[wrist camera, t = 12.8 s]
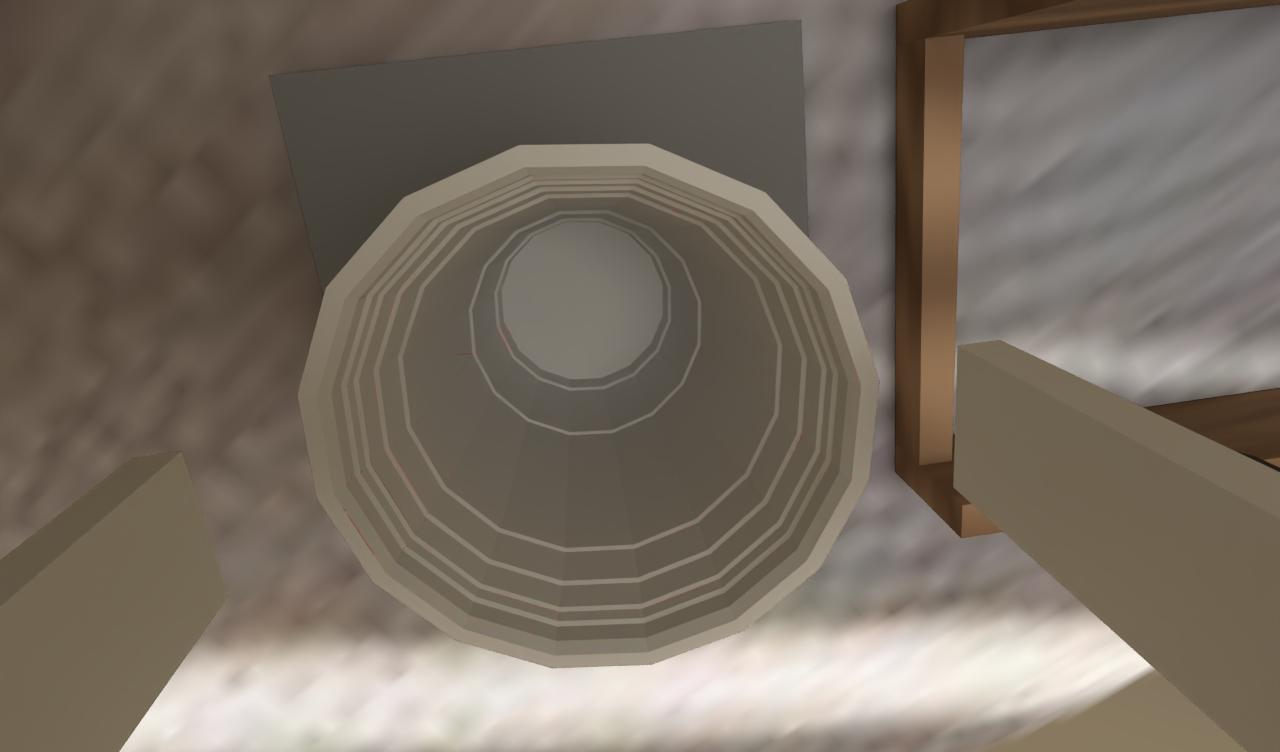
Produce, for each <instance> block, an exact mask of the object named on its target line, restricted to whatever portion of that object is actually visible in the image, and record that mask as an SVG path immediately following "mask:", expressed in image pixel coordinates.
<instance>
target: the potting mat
mask: <svg viewBox="0 0 1280 752" xmlns="http://www.w3.org/2000/svg"><path fill="white" fill-rule="evenodd" d="M269 79H270V83H271V87H272V91H273V95H274V99H275V103H276V107H277V111H278V115H279V119H280V123H281V127H282V131H283V136H284V140H285V144H286V148H287V152H288V156H289V160H290V164H291V168H292V172H293V176H294V180H295V184H296V188H297V192H298V197H299V201H300V205H301V209H302V213H303V217H304V221H305V225H306V229H307V233H308V237H309V241H310V245H311V249H312V253H313V258H314V262H315V266H316V270H317V274H318V278H319V282H320V286H321V290H322V294H323V297H324V293H325V290H326V287H327V286H328V285H329V284H330V282H331V281H332V280H333V279H334V278H335V277H336V275H337V274H338V273H339V272H340V271H341V270H342V268H343V267H344V266H345V265H346V264H347V263H348V262H349V260H350V259H351V258H352V257H353V256H354V255H355V253H356V252H357V251H358V250H359V249H360V248H361V246H362V245H363V244H364V243H365V242H366V241H367V239H368V238H369V237H370V236H371V235H372V234H373V232H374V231H375V230H376V229H377V228H378V227H379V226H380V224H381V223H382V222H383V221H384V220H385V219H386V217H387V216H388V215H389V214H390V213H391V212H392V210H393V209H394V208H395V207H396V206H397V205H398V203H399V202H400V201H401V200H402V199H403V198H404V197H406V196H408V195H410V194H412V193H415V192H417V191H419V190H421V189H423V188H426V187H428V186H430V185H432V184H434V183H437V182H439V181H441V180H443V179H445V178H448V177H450V176H452V175H454V174H456V173H459V172H461V171H463V170H465V169H467V168H470V167H472V166H474V165H476V164H478V163H481V162H483V161H485V160H487V159H489V158H492V157H494V156H496V155H498V154H500V153H503V152H505V151H507V150H509V149H512V148H514V147H516V146H518V145H565V144H652V145H654V146H656V147H659V148H661V149H663V150H666V151H668V152H671V153H673V154H675V155H678V156H680V157H682V158H685V159H687V160H690V161H692V162H694V163H697V164H699V165H701V166H704V167H706V168H709V169H711V170H713V171H716V172H718V173H720V174H723V175H725V176H728V177H730V178H732V179H735V180H737V181H739V182H742V183H744V184H747V185H749V186H751V187H754V188H756V189H758V190H761V191H763V192H766V194H767V195H768V196H769V197H770V198H771V199H772V200H773V201H774V202H775V203H776V204H777V205H778V206H779V207H780V209H781V210H782V211H783V212H784V213H785V214H786V215H787V216H788V217H789V218H790V219H791V220H792V221H793V222H794V223H795V225H796V226H797V227H798V228H799V229H800V230H801V231H802V232H803V233H804V234H805V235H806V236H807V237H808V238H809V234H808V205H807V176H806V146H805V117H804V88H803V58H802V29H801V20H794V21H784V22H775V23H765V24H755V25H746V26H736V27H727V28H717V29H708V30H698V31H688V32H679V33H669V34H660V35H650V36H641V37H631V38H622V39H612V40H602V41H593V42H583V43H574V44H564V45H555V46H545V47H535V48H526V49H516V50H507V51H497V52H488V53H478V54H468V55H459V56H449V57H440V58H430V59H421V60H411V61H401V62H392V63H382V64H373V65H363V66H354V67H344V68H335V69H325V70H315V71H306V72H296V73H287V74H277V75H269Z"/></svg>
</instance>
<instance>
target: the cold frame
mask: <svg viewBox="0 0 1280 752" xmlns="http://www.w3.org/2000/svg"><path fill="white" fill-rule="evenodd" d="M1271 5H1280V0H908V1H906V2H903V3H900V4H898V5H897V93H896V429H895V472H896V473H897V474H898V475H899V476H900V477H901V478H902V479H903V480H904V481H905V482H906V483H907V484H908V485H909V486H910V487H911V488H912V489H913V490H914V491H915V492H916V493H917V494H918V495H919V496H920V497H921V498H922V499H923V500H924V501H925V502H926V503H927V504H928V505H929V506H930V507H931V508H932V509H933V510H934V511H935V512H936V513H937V514H938V515H939V516H940V517H941V518H942V519H943V520H944V521H945V522H946V523H947V524H948V525H949V526H950V527H951V528H952V529H953V530H954V531H955V532H956V533H957V534H958V535H959V536H960V537H961V538H966V537H973V536H979V535H986V534H992V533H999V532H1002V531H1001V530H1000V529H999V528H998V527H997V526H996V525H995V524H994V523H992V522H991V521H990V520H989V519H988V518H987V517H986V516H985V515H984V514H982V513H981V512H980V511H979V510H978V509H977V508H976V507H975V506H974V505H972V504H971V503H970V502H969V501H968V500H967V499H966V498H965V497H964V496H962V495H961V494H960V493H959V492H958V491H957V490H956V489H955V488H954V487H953V481H954V450H955V435H953V405H954V371H955V337H956V303H957V269H958V235H959V201H960V167H961V133H962V99H963V65H964V39H965V38H974V37H984V36H993V35H1002V34H1012V33H1021V32H1030V31H1039V30H1049V29H1058V28H1067V27H1076V26H1086V25H1095V24H1104V23H1114V22H1123V21H1132V20H1141V19H1151V18H1160V17H1169V16H1179V15H1188V14H1197V13H1206V12H1216V11H1225V10H1234V9H1243V8H1253V7H1262V6H1271ZM1145 409H1147V410H1149V411H1151V412H1153V413H1155V414H1158V415H1160V416H1162V417H1164V418H1166V419H1168V420H1170V421H1172V422H1174V423H1177V424H1179V425H1181V426H1183V427H1185V428H1187V429H1189V430H1191V431H1193V432H1196V433H1198V434H1200V435H1202V436H1204V437H1206V438H1208V439H1210V440H1213V441H1215V442H1217V443H1219V444H1221V445H1223V446H1225V447H1227V448H1229V449H1232V450H1234V451H1238V452H1241V453H1245V454H1248V455H1252V456H1255V457H1258V458H1260V459H1262V460H1264V461H1267V462H1269V463H1271V464H1273V465H1275V466H1277V467H1279V468H1280V388H1278V389H1271V390H1264V391H1257V392H1250V393H1243V394H1236V395H1229V396H1223V397H1216V398H1209V399H1202V400H1195V401H1188V402H1181V403H1174V404H1167V405H1160V406H1153V407H1146V408H1145Z"/></svg>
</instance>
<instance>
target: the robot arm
mask: <svg viewBox="0 0 1280 752" xmlns="http://www.w3.org/2000/svg"><path fill="white" fill-rule="evenodd" d="M953 487H954V488H955V489H956V490H957V491H958V492H959V493H960V494H961V495H962V496H964V497H965V498H966V499H967V500H968V501H969V502H970V503H971V504H972V505H974V506H975V507H976V508H977V509H978V510H979V511H980V512H981V513H982V514H984V515H985V516H986V517H987V518H988V519H989V520H990V521H991V522H992V523H994V524H995V525H996V526H997V527H998V528H999V529H1000V530H1001V531H1002V532H1004V533H1005V534H1006V535H1007V536H1008V537H1009V538H1010V539H1011V540H1012V541H1014V542H1015V543H1016V544H1017V545H1018V546H1019V547H1020V548H1021V549H1022V550H1024V551H1025V552H1026V553H1027V554H1028V555H1029V556H1030V557H1031V558H1032V559H1034V560H1035V561H1036V562H1037V563H1038V564H1039V565H1040V566H1041V567H1042V568H1044V569H1045V570H1046V571H1047V572H1048V573H1049V574H1050V575H1051V576H1052V577H1054V578H1055V579H1056V580H1057V581H1058V582H1059V583H1060V584H1061V585H1062V586H1064V587H1065V588H1066V589H1067V590H1068V591H1069V592H1070V593H1071V594H1073V595H1074V596H1075V597H1076V598H1077V599H1078V600H1079V601H1080V602H1081V603H1083V604H1084V605H1085V606H1086V607H1087V608H1088V609H1089V610H1090V611H1091V612H1093V613H1094V614H1095V615H1096V616H1097V617H1098V618H1099V619H1100V620H1101V621H1103V622H1104V623H1105V624H1106V625H1107V626H1108V627H1109V628H1110V629H1111V630H1113V631H1114V632H1115V633H1116V634H1117V635H1118V636H1119V637H1120V638H1121V639H1123V640H1124V641H1125V642H1126V643H1127V644H1128V645H1129V646H1130V647H1131V648H1133V649H1134V650H1135V651H1136V652H1137V653H1138V654H1139V655H1140V656H1141V657H1143V658H1144V659H1145V660H1146V661H1147V662H1148V663H1149V664H1150V665H1151V666H1153V667H1154V668H1155V669H1156V670H1157V671H1158V672H1159V673H1160V674H1161V675H1163V676H1164V677H1165V678H1166V679H1167V680H1168V681H1169V682H1170V683H1172V684H1173V685H1174V686H1175V687H1176V688H1177V689H1178V690H1179V691H1180V692H1181V693H1183V694H1184V695H1185V696H1186V697H1187V698H1188V699H1189V700H1190V701H1191V702H1193V703H1194V704H1195V705H1196V706H1197V707H1198V708H1199V709H1200V710H1201V711H1203V712H1204V713H1205V714H1206V715H1207V716H1208V717H1209V718H1210V719H1212V720H1213V721H1214V722H1215V723H1216V724H1217V725H1218V726H1220V727H1221V728H1222V729H1223V730H1224V731H1225V732H1226V733H1227V734H1228V735H1229V736H1230V737H1232V738H1233V739H1234V740H1235V741H1236V742H1237V743H1238V744H1239V745H1240V746H1242V747H1243V748H1244V749H1245V750H1246V751H1247V752H1280V468H1279V467H1277V466H1275V465H1273V464H1271V463H1269V462H1267V461H1264V460H1262V459H1260V458H1258V457H1255V456H1252V455H1248V454H1245V453H1241V452H1238V451H1234V450H1232V449H1229V448H1227V447H1225V446H1223V445H1221V444H1219V443H1217V442H1215V441H1213V440H1210V439H1208V438H1206V437H1204V436H1202V435H1200V434H1198V433H1196V432H1193V431H1191V430H1189V429H1187V428H1185V427H1183V426H1181V425H1179V424H1177V423H1174V422H1172V421H1170V420H1168V419H1166V418H1164V417H1162V416H1160V415H1158V414H1155V413H1153V412H1151V411H1149V410H1147V409H1145V408H1143V407H1141V406H1139V405H1136V404H1134V403H1132V402H1130V401H1128V400H1126V399H1124V398H1122V397H1119V396H1117V395H1115V394H1113V393H1111V392H1109V391H1107V390H1105V389H1103V388H1100V387H1098V386H1096V385H1094V384H1092V383H1090V382H1088V381H1086V380H1084V379H1081V378H1079V377H1077V376H1075V375H1073V374H1071V373H1069V372H1067V371H1065V370H1062V369H1060V368H1058V367H1056V366H1054V365H1052V364H1050V363H1048V362H1045V361H1043V360H1041V359H1039V358H1037V357H1035V356H1033V355H1031V354H1029V353H1026V352H1024V351H1022V350H1020V349H1018V348H1016V347H1014V346H1012V345H1010V344H1007V343H1005V342H1003V341H1001V340H996V341H988V342H981V343H974V344H966V345H959V346H958V355H957V386H956V418H955V450H954V481H953ZM228 596H229V593H228V590H227V587H226V584H225V581H224V578H223V575H222V572H221V569H220V566H219V563H218V560H217V557H216V554H215V551H214V548H213V545H212V542H211V539H210V536H209V533H208V530H207V527H206V524H205V521H204V518H203V515H202V512H201V509H200V506H199V503H198V500H197V497H196V494H195V491H194V488H193V485H192V482H191V479H190V476H189V473H188V470H187V467H186V464H185V461H184V458H183V455H182V452H181V451H180V452H173V453H165V454H158V455H150V456H143V457H136V458H132V459H131V460H129V461H128V462H127V463H125V464H124V465H123V466H122V467H120V468H119V469H118V470H116V471H115V472H114V473H113V474H111V475H110V476H109V477H107V478H106V479H105V480H103V481H102V482H101V483H100V484H98V485H97V486H96V487H94V488H93V489H92V490H91V491H89V492H88V493H87V494H85V495H84V496H83V497H82V498H80V499H79V500H78V501H76V502H75V503H74V504H72V505H71V506H70V507H69V508H67V509H66V510H65V511H63V512H62V513H61V514H60V515H58V516H57V517H56V518H54V519H53V520H52V521H51V522H49V523H48V524H47V525H45V526H44V527H43V528H41V529H40V530H39V531H38V532H36V533H35V534H34V535H32V536H31V537H30V538H29V539H27V540H26V541H25V542H23V543H22V544H21V545H19V546H18V547H17V548H16V549H14V550H13V551H12V552H10V553H9V554H8V555H7V556H5V557H4V558H3V559H1V560H0V752H119V751H120V750H121V748H122V747H123V745H124V744H125V742H126V741H127V740H128V738H129V737H130V735H131V734H132V733H133V731H134V730H135V728H136V727H137V725H138V724H139V723H140V721H141V720H142V718H143V717H144V715H145V714H146V713H147V711H148V710H149V708H150V707H151V706H152V704H153V703H154V701H155V700H156V698H157V697H158V696H159V694H160V693H161V691H162V690H163V688H164V687H165V686H166V684H167V683H168V681H169V680H170V679H171V677H172V676H173V674H174V673H175V671H176V670H177V669H178V667H179V666H180V664H181V663H182V661H183V660H184V659H185V657H186V656H187V654H188V653H189V652H190V650H191V649H192V647H193V646H194V644H195V643H196V642H197V640H198V639H199V637H200V636H201V634H202V633H203V632H204V630H205V629H206V627H207V626H208V625H209V623H210V622H211V620H212V619H213V617H214V616H215V615H216V613H217V612H218V610H219V609H220V607H221V606H222V605H223V603H224V602H225V600H226V599H227V598H228Z"/></svg>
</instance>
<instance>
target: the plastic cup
mask: <svg viewBox="0 0 1280 752" xmlns="http://www.w3.org/2000/svg"><path fill="white" fill-rule="evenodd" d="M879 384H880V380H879V377H878V374H877V371H876V368H875V365H874V362H873V359H872V356H871V353H870V350H869V347H868V344H867V341H866V338H865V335H864V332H863V329H862V326H861V323H860V320H859V317H858V314H857V311H856V308H855V305H854V302H853V299H852V296H851V293H850V290H849V286H848V283H847V280H846V278H845V277H844V276H843V275H842V274H841V273H840V272H839V270H838V269H837V268H836V267H835V266H834V265H833V264H832V263H831V262H830V261H829V260H828V259H827V258H826V257H825V256H824V254H823V253H822V252H821V251H820V250H819V249H818V248H817V247H816V246H815V245H814V244H813V243H812V242H811V241H810V240H809V238H808V237H807V236H806V235H805V234H804V233H803V232H802V231H801V230H800V229H799V228H798V227H797V226H796V225H795V223H794V222H793V221H792V220H791V219H790V218H789V217H788V216H787V215H786V214H785V213H784V212H783V211H782V210H781V209H780V207H779V206H778V205H777V204H776V203H775V202H774V201H773V200H772V199H771V198H770V197H769V196H768V195H767V194H766V192H763V191H761V190H758V189H756V188H754V187H751V186H749V185H747V184H744V183H742V182H739V181H737V180H735V179H732V178H730V177H728V176H725V175H723V174H720V173H718V172H716V171H713V170H711V169H709V168H706V167H704V166H701V165H699V164H697V163H694V162H692V161H690V160H687V159H685V158H682V157H680V156H678V155H675V154H673V153H671V152H668V151H666V150H663V149H661V148H659V147H656V146H654V145H652V144H565V145H518V146H516V147H514V148H512V149H509V150H507V151H505V152H503V153H500V154H498V155H496V156H494V157H492V158H489V159H487V160H485V161H483V162H481V163H478V164H476V165H474V166H472V167H470V168H467V169H465V170H463V171H461V172H459V173H456V174H454V175H452V176H450V177H448V178H445V179H443V180H441V181H439V182H437V183H434V184H432V185H430V186H428V187H426V188H423V189H421V190H419V191H417V192H415V193H412V194H410V195H408V196H406V197H404V198H403V199H402V200H401V201H400V202H399V203H398V205H397V206H396V207H395V208H394V209H393V210H392V212H391V213H390V214H389V215H388V216H387V217H386V219H385V220H384V221H383V222H382V223H381V224H380V226H379V227H378V228H377V229H376V230H375V231H374V232H373V234H372V235H371V236H370V237H369V238H368V239H367V241H366V242H365V243H364V244H363V245H362V246H361V248H360V249H359V250H358V251H357V252H356V253H355V255H354V256H353V257H352V258H351V259H350V260H349V262H348V263H347V264H346V265H345V266H344V267H343V268H342V270H341V271H340V272H339V273H338V274H337V275H336V277H335V278H334V279H333V280H332V281H331V282H330V284H329V285H328V286H327V287H326V290H325V293H324V297H323V301H322V305H321V308H320V312H319V316H318V319H317V323H316V327H315V331H314V334H313V338H312V342H311V346H310V349H309V353H308V357H307V361H306V364H305V368H304V372H303V375H302V379H301V383H300V387H299V390H298V400H299V405H300V411H301V416H302V422H303V427H304V433H305V438H306V444H307V449H308V455H309V460H310V466H311V471H312V477H313V482H314V488H315V493H316V498H317V499H318V501H319V502H320V504H321V505H322V507H323V508H324V510H325V511H326V513H327V514H328V516H329V517H330V519H331V520H332V522H333V523H334V525H335V526H336V528H337V529H338V531H339V532H340V533H341V535H342V536H343V538H344V539H345V541H346V542H347V544H348V545H349V547H350V548H351V550H352V551H353V553H354V554H355V556H356V557H357V559H358V560H359V562H360V563H361V565H362V566H363V568H364V569H365V571H366V572H367V574H368V575H369V577H370V578H371V580H372V581H373V582H374V583H375V584H376V585H378V586H379V587H381V588H382V589H383V590H385V591H386V592H388V593H389V594H391V595H392V596H393V597H395V598H396V599H398V600H399V601H400V602H402V603H403V604H405V605H406V606H408V607H409V608H410V609H412V610H413V611H415V612H416V613H417V614H419V615H420V616H422V617H423V618H425V619H426V620H427V621H429V622H430V623H432V624H433V625H435V626H436V627H437V628H439V629H440V630H442V631H443V632H444V633H446V634H447V635H449V636H450V637H452V638H453V639H454V640H456V641H460V642H463V643H467V644H470V645H473V646H477V647H480V648H484V649H487V650H491V651H494V652H498V653H501V654H505V655H508V656H512V657H515V658H518V659H522V660H525V661H529V662H532V663H536V664H539V665H543V666H546V667H550V668H570V667H599V666H627V665H652V664H655V663H657V662H660V661H663V660H665V659H668V658H671V657H674V656H676V655H679V654H682V653H684V652H687V651H690V650H693V649H695V648H698V647H701V646H703V645H706V644H709V643H712V642H714V641H717V640H720V639H722V638H725V637H728V636H731V635H733V634H736V633H739V632H741V631H744V630H745V629H747V628H748V627H749V626H750V625H751V624H753V623H754V622H755V621H756V620H758V619H759V618H760V617H761V616H762V615H764V614H765V613H766V612H767V611H768V610H770V609H771V608H772V607H773V606H775V605H776V604H777V603H778V602H779V601H781V600H782V599H783V598H784V597H785V596H787V595H788V594H789V593H790V592H792V591H793V590H794V589H795V588H796V587H798V586H799V585H800V584H801V583H803V582H804V581H805V580H806V579H807V578H809V577H810V576H811V575H812V574H813V573H815V572H816V571H817V570H818V569H820V567H821V565H822V564H823V562H824V560H825V558H826V557H827V555H828V553H829V551H830V549H831V548H832V546H833V544H834V542H835V541H836V539H837V537H838V535H839V534H840V532H841V530H842V528H843V527H844V525H845V523H846V521H847V519H848V518H849V516H850V514H851V512H852V511H853V509H854V507H855V505H856V504H857V502H858V500H859V498H860V496H861V495H862V493H863V491H864V489H865V488H866V486H867V484H868V482H869V474H870V465H871V456H872V447H873V438H874V429H875V420H876V411H877V402H878V393H879Z"/></svg>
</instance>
